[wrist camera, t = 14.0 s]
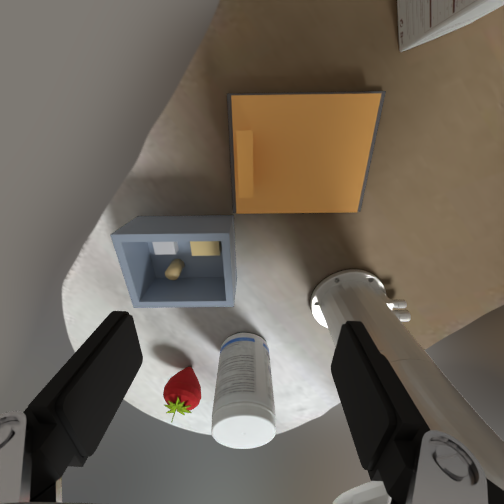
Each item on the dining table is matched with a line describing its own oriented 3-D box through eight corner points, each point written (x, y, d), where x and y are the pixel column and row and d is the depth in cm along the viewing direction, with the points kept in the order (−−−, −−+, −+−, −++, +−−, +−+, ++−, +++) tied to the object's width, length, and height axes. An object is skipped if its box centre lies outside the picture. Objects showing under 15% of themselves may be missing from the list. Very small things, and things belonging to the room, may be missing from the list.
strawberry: (195, 382, 50) (183, 435, 41) (167, 366, 47) (147, 419, 38) (212, 369, 48) (203, 422, 39) (183, 352, 45) (166, 404, 36)
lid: (372, 96, 26) (419, 79, 18) (351, 208, 31) (380, 228, 24) (232, 98, 26) (225, 82, 18) (237, 209, 31) (233, 230, 24)
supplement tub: (213, 353, 46) (197, 440, 32) (235, 323, 42) (227, 407, 29) (254, 369, 48) (255, 456, 35) (278, 341, 44) (289, 427, 31)
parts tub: (233, 215, 32) (229, 233, 26) (236, 278, 37) (233, 306, 31) (137, 216, 32) (110, 234, 26) (153, 279, 37) (133, 307, 31)
